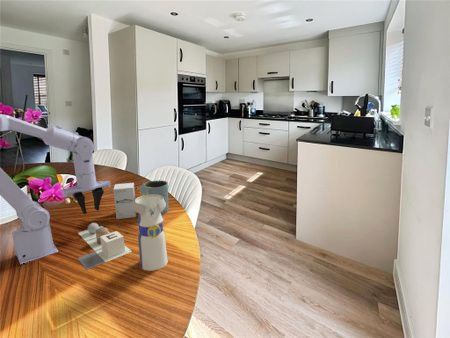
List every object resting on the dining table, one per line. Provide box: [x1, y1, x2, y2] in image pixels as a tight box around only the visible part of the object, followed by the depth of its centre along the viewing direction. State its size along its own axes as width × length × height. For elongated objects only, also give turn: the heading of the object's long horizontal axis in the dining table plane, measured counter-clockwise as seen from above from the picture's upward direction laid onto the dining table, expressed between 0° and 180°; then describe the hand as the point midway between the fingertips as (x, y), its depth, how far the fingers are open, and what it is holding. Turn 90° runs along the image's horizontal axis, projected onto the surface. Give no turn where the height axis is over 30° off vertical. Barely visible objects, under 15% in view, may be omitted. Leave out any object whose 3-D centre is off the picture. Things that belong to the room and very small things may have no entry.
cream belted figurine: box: [133, 182, 169, 272], centre depth 73 cm, size 8×9×25 cm
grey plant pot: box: [143, 180, 169, 216], centre depth 111 cm, size 10×10×12 cm
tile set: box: [77, 225, 133, 263], centre depth 88 cm, size 8×25×1 cm, turn 44°
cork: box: [96, 227, 109, 244], centre depth 88 cm, size 4×4×4 cm
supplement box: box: [113, 182, 137, 220], centre depth 108 cm, size 7×7×13 cm
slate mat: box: [77, 251, 106, 271], centre depth 78 cm, size 5×8×1 cm, turn 44°
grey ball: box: [87, 222, 100, 233], centre depth 94 cm, size 4×4×4 cm
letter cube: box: [100, 230, 126, 258], centre depth 81 cm, size 5×5×5 cm
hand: (90, 211), depth 92 cm, fingers open, 3 cm apart
